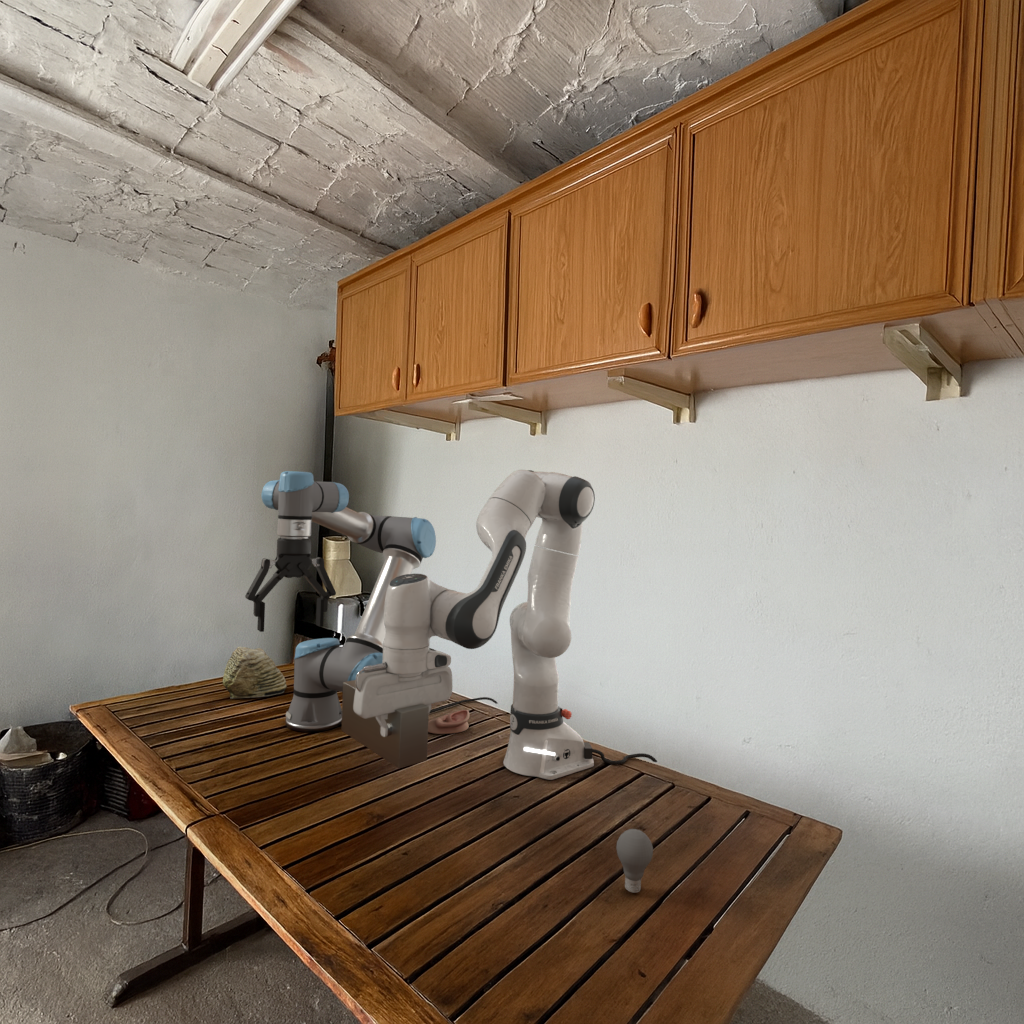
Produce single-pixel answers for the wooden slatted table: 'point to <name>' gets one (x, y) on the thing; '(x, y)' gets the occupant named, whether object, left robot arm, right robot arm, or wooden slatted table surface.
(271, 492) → the left robot arm
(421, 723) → the box
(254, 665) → the fossil
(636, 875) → the light bulb
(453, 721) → the anatomical model
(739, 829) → the wooden slatted table surface
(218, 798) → the wooden slatted table surface
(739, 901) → the wooden slatted table surface
